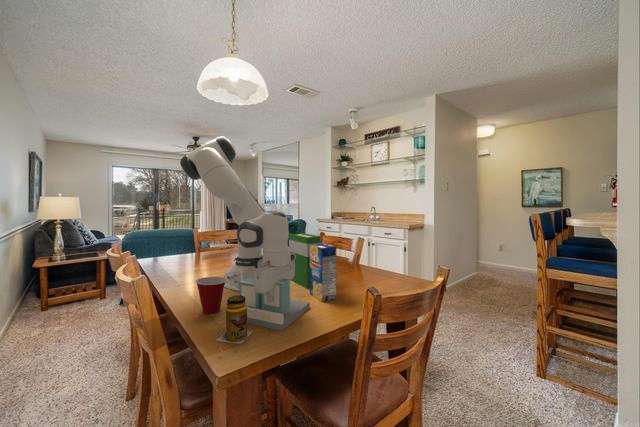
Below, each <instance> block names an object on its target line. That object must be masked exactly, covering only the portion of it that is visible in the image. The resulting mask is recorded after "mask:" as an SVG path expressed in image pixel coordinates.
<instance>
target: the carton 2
mask: <svg viewBox="0 0 640 427" xmlns="http://www.w3.org/2000/svg"><path fill="white" fill-rule="evenodd" d="M290 284H291V281H290V279H283V280H281V281H279V282H277V283H276V288H274V289H272V293H271V294H272V296H274V301H273V302H271V303H270V302H267V296H266V294H262V309H263V310H268V311H273V312H278V313H283V312H285V311H286V310H287V309H289V308H290V299H291V297H290V296H291V294H290V293H291V290H290V289H291V286H290Z"/></svg>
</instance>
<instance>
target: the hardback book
mask: <svg viewBox="0 0 640 427" xmlns="http://www.w3.org/2000/svg"><path fill="white" fill-rule="evenodd" d="M319 243H321V236H320V235H314V234H309V233H304V232H300V233H299V234H293V233H289V238H288V248H289V253H293V254H295V255H296V259H295V260H294V261H295V275H294V278H293V279H291V280H290V282H292V283H294V284H297V285H299V286H301V287H302V288H304V289H307V290H310V244H319Z"/></svg>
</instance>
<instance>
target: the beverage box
mask: <svg viewBox="0 0 640 427" xmlns="http://www.w3.org/2000/svg"><path fill="white" fill-rule="evenodd" d="M337 249H338V248H337V246H335V245H332V244H328V243H324V242H320V243H319V244H310V289H309V294H310V295H311V296H312V297H314V298H315V299H317V300H318V301H319V302H321V303H325V302H330V301H334V300H337V256H338V253H337V251H338V250H337Z"/></svg>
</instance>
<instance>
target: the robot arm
mask: <svg viewBox="0 0 640 427" xmlns="http://www.w3.org/2000/svg"><path fill="white" fill-rule="evenodd" d="M236 155H237V152H236V148H235V145H234V144H233V143H232V141H231V140H230V139H228V138H227V137H226V136H223V135H221V136H217V137H215V138H214V139H212V140H209V141H207V142H205V143H202V144H200V146H198V147H197V148H195V149H193V150H192V151H190V152H189V153H187V154H185V155H184V156H183V157H182V158H180V162H179V164H180V168H181V170H182V172H183V173H184V174H185V175H186V176H187V177H189V179H191V180H195V181H197V180H200V179H201V181H202V182H203V184H204V186H205V187H206V189H207V190H208V191H209V193H211V194H212V195H213V196H214V197H215V198H217V199H221V200H223V201H224V203H225V205H226V206H227V209H228V211H229V213H230V215H231V218H232V220H233V221H234V223H236V225H238V228H237V229H236V238H237V257H235V258H234V257H233V261H234V262H235V263H234V264H233V265H232V266H231V267H230V268H229V269H227V270H226V271H225V273H224V277H223V278H226V279H227V281H226V282H225V285H224V288H225V289H227V290H228V289H229V290H231V291H232V290H233V291H236V292H239V282H240V281H243V280H245V279H248V278H250V279H254V291H255V293H259V294H266V296H267V302H270V303H271V302H273V301H274V296H272V294H271V293H272V289H274V288H276V283H277V282H279V281H281V280H283V279H290V280H291V279H293V278H294V275H295V261H294V260H295V259H296V255H295V254H293V253H289V234H290V232H289V230H290V229H289V221H288V216H287V215H286V213H284V212H281V211H277V210H266V208H264V207H263V206H262V205H261V204H260V203H259V202H258V200H257V198H255V196H254V195H253V194H252V193H251V191H250V190H249V189H248V187H246V185H244V184H243V182H242V181H241V179H240V178H239V176H238V174H237V173H236V172H235V170H234V169H233V168H232V167H231V165H230V164H229V163H231V164H233V160H235V158H236Z"/></svg>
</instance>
